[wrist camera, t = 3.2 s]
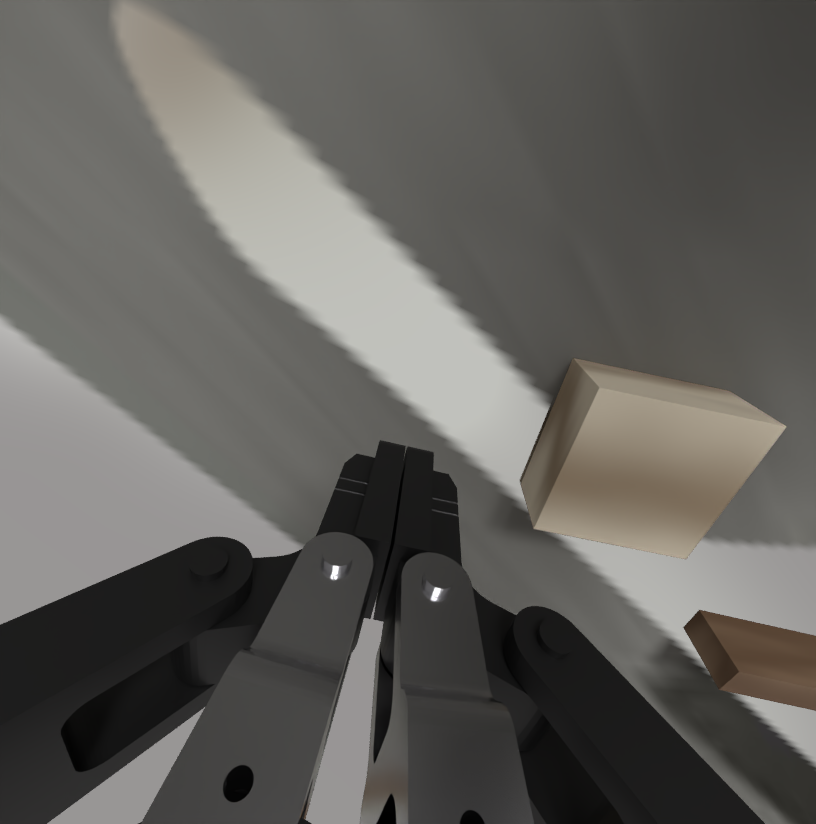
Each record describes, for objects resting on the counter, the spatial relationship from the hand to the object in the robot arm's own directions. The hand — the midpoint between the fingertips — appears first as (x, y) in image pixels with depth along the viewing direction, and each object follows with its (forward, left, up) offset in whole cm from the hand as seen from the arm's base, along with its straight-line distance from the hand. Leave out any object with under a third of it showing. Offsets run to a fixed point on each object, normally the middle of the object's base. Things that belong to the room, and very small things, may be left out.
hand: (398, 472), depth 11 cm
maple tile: (0, +9, -6) cm, 10 cm away
